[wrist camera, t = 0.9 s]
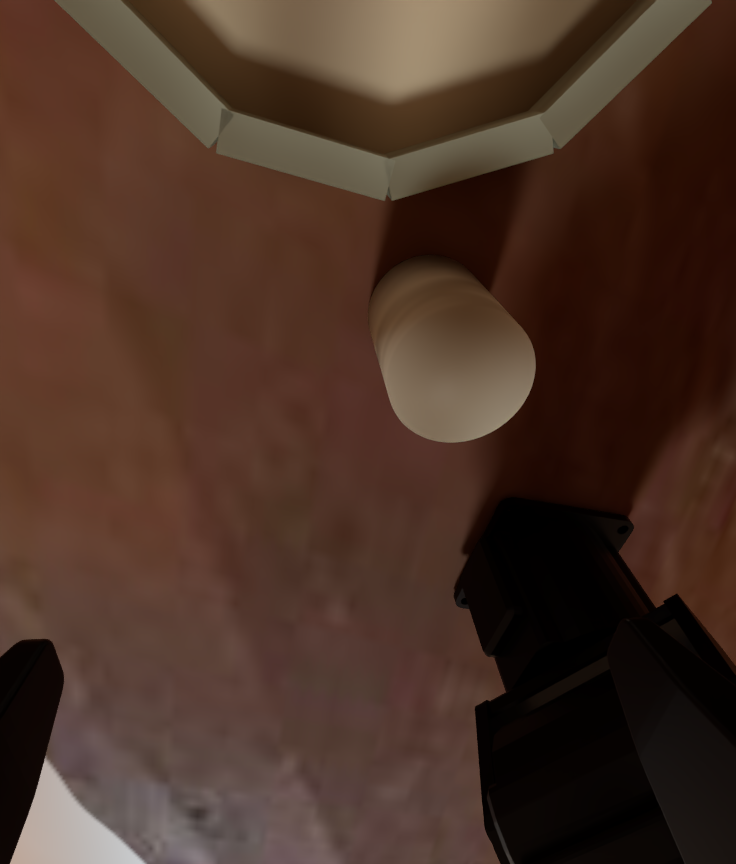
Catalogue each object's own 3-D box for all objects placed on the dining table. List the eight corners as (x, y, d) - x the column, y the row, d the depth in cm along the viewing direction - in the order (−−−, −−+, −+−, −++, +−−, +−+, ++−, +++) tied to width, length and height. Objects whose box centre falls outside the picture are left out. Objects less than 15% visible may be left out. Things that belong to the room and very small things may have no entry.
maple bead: (500, 271, 18) (561, 326, 14) (459, 376, 20) (500, 452, 16) (386, 240, 17) (414, 290, 13) (354, 354, 19) (369, 429, 15)
